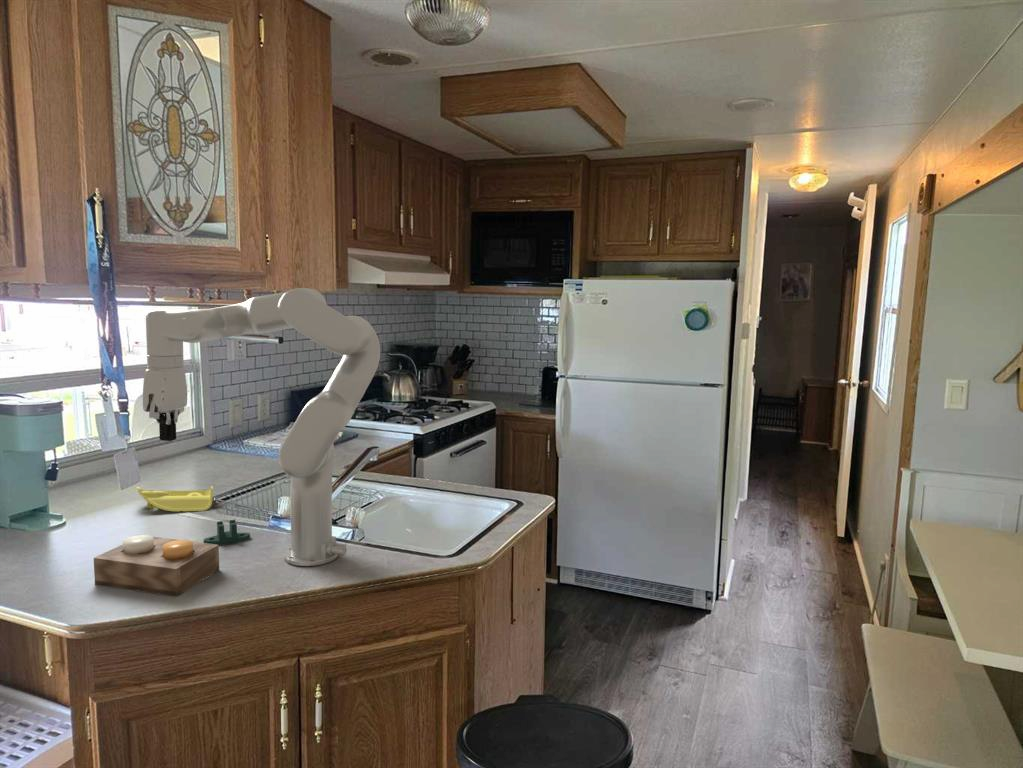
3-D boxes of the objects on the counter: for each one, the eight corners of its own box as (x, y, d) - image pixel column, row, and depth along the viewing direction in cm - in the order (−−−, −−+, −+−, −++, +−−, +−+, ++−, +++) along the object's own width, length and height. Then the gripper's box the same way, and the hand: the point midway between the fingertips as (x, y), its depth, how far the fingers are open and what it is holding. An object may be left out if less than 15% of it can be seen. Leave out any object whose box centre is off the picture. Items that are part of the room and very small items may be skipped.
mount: (204, 547, 166) (203, 528, 165) (202, 541, 170) (202, 522, 169) (251, 541, 171) (251, 522, 170) (248, 535, 175) (248, 517, 174)
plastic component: (212, 490, 204) (213, 485, 195) (211, 515, 201) (211, 510, 193) (138, 491, 196) (135, 485, 187) (136, 516, 194) (133, 512, 185)
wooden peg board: (219, 569, 153) (218, 544, 152) (176, 596, 139) (176, 568, 139) (143, 559, 157) (142, 535, 156) (94, 584, 143) (93, 557, 143)
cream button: (160, 562, 151) (159, 536, 150) (140, 572, 145) (139, 546, 145) (137, 559, 152) (136, 533, 152) (117, 569, 147) (115, 543, 146)
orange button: (199, 567, 149) (199, 541, 148) (181, 578, 143) (180, 551, 143) (176, 564, 150) (175, 538, 150) (156, 574, 145) (155, 548, 144)
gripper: (172, 358, 163) (174, 432, 166) (127, 364, 149) (130, 445, 151) (200, 360, 162) (202, 434, 165) (157, 366, 147) (160, 448, 150)
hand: (168, 439), depth 158 cm, fingers closed
